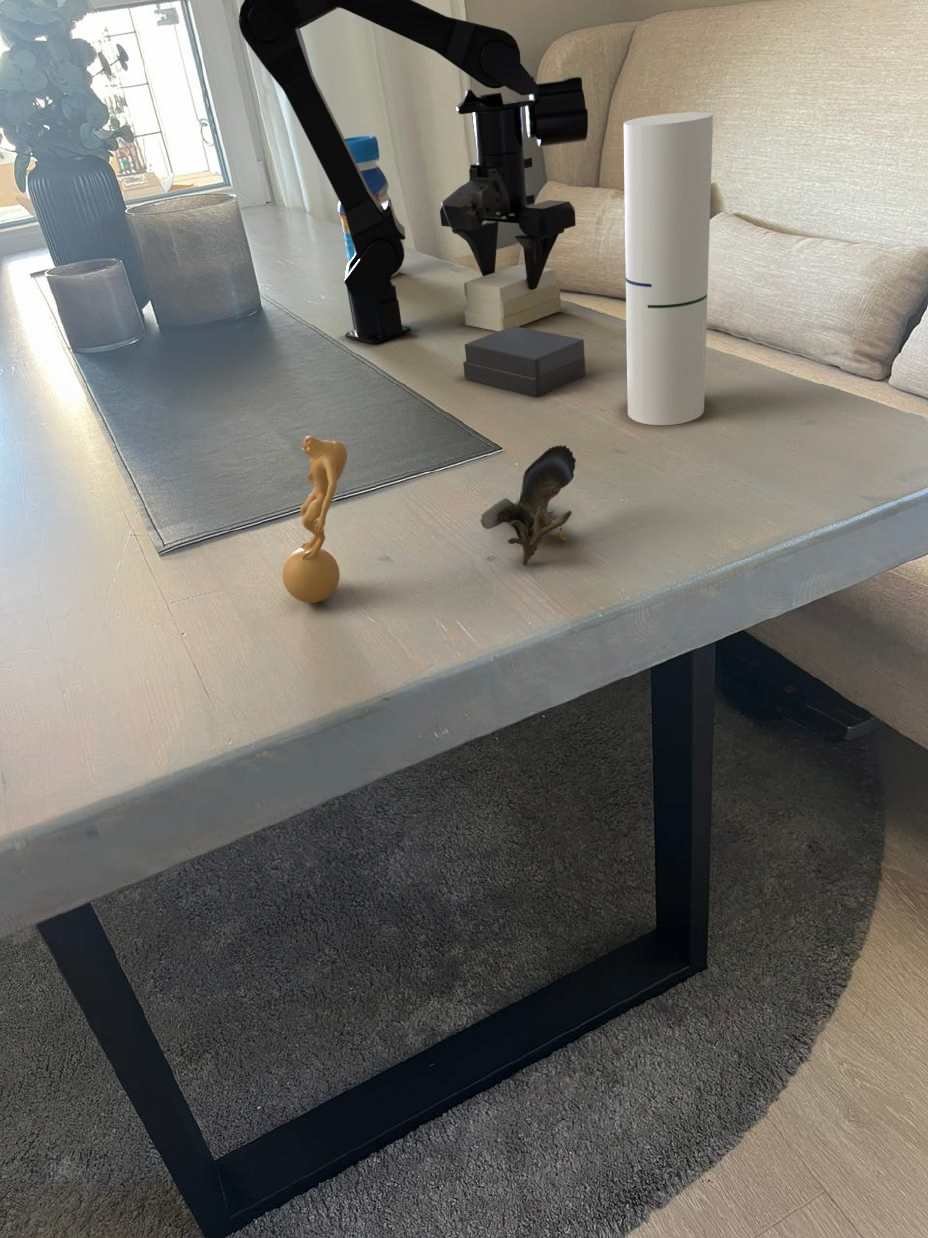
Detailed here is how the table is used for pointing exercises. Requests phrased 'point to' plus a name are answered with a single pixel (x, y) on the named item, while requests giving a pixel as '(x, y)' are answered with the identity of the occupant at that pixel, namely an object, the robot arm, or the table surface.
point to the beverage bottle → (376, 181)
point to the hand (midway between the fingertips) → (510, 285)
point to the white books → (513, 309)
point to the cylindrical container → (667, 264)
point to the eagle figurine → (535, 501)
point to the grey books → (525, 360)
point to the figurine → (316, 526)
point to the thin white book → (506, 284)
